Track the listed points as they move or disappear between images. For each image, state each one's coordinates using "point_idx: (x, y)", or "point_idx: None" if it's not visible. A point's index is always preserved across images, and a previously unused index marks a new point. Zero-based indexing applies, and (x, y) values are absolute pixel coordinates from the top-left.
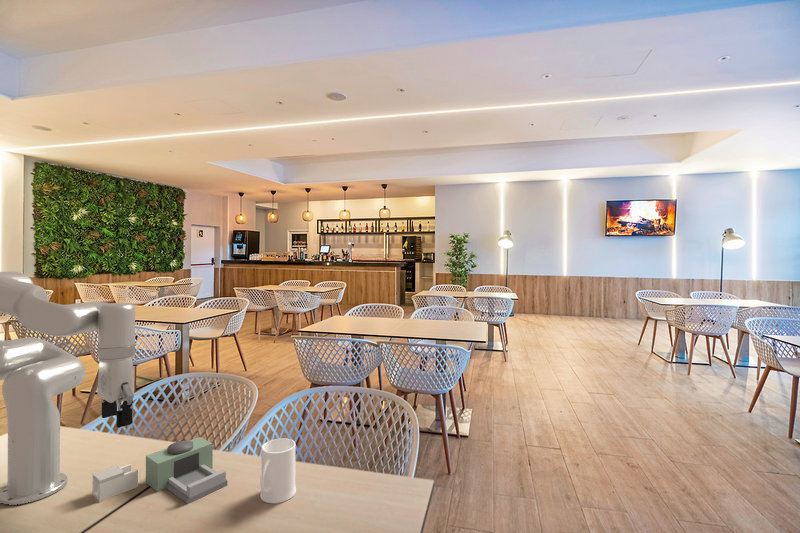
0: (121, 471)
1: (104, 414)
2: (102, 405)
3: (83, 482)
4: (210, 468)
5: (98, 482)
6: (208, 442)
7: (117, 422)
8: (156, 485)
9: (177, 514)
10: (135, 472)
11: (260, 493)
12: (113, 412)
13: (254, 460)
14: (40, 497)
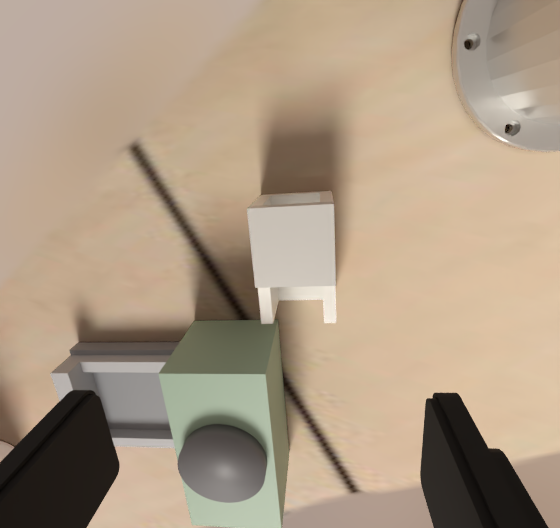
0: (266, 282)
1: (437, 427)
2: (494, 520)
3: (458, 190)
4: (167, 447)
5: (263, 205)
6: (210, 522)
7: (42, 420)
8: (196, 329)
9: (47, 310)
10: (260, 313)
11: (10, 450)
12: (431, 486)
13: (180, 517)
14: (454, 43)
